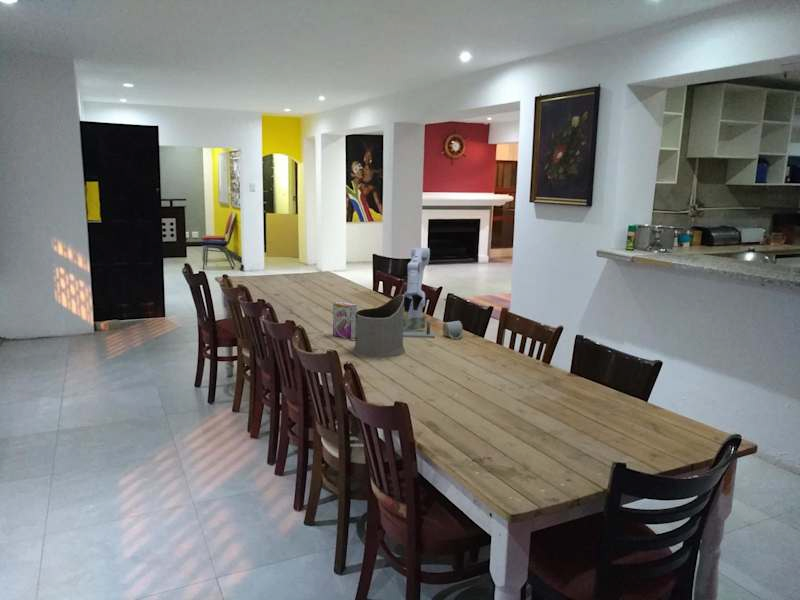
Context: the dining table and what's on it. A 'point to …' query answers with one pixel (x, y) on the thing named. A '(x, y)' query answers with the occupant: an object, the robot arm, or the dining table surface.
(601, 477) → the dining table surface
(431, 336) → the gate base
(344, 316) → the candy bar box
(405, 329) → the gate
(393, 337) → the pitcher
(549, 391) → the dining table surface
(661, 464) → the dining table surface
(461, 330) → the ceramic mug
